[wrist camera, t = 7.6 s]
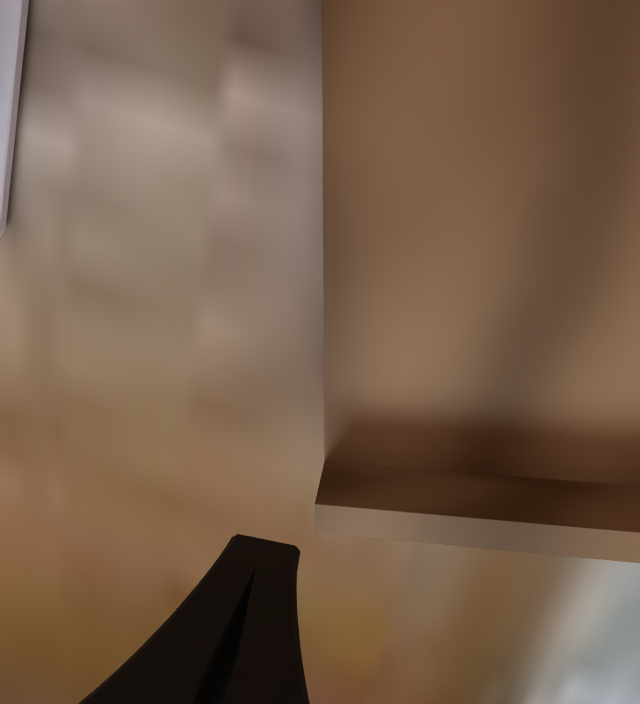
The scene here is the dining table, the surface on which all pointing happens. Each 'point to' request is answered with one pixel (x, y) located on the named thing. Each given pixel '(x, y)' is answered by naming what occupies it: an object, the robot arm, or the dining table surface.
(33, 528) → the dining table surface
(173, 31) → the dining table surface
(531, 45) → the walnut box
